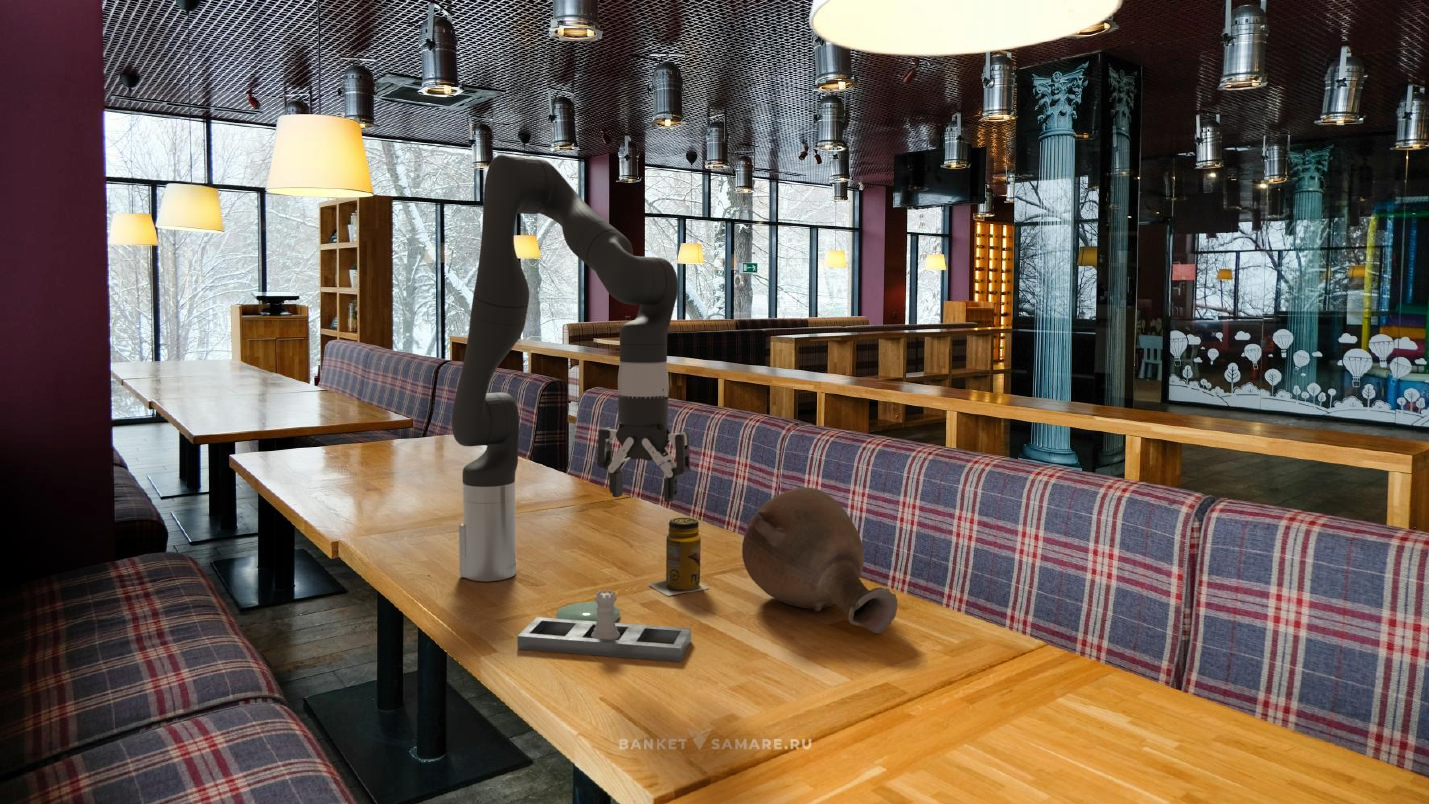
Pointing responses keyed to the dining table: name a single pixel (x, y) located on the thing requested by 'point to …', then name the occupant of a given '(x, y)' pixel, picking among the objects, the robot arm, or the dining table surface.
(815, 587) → the jug
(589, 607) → the green dome
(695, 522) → the condiment
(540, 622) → the grey compartment tray
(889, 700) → the dining table surface
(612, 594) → the rook chess piece
